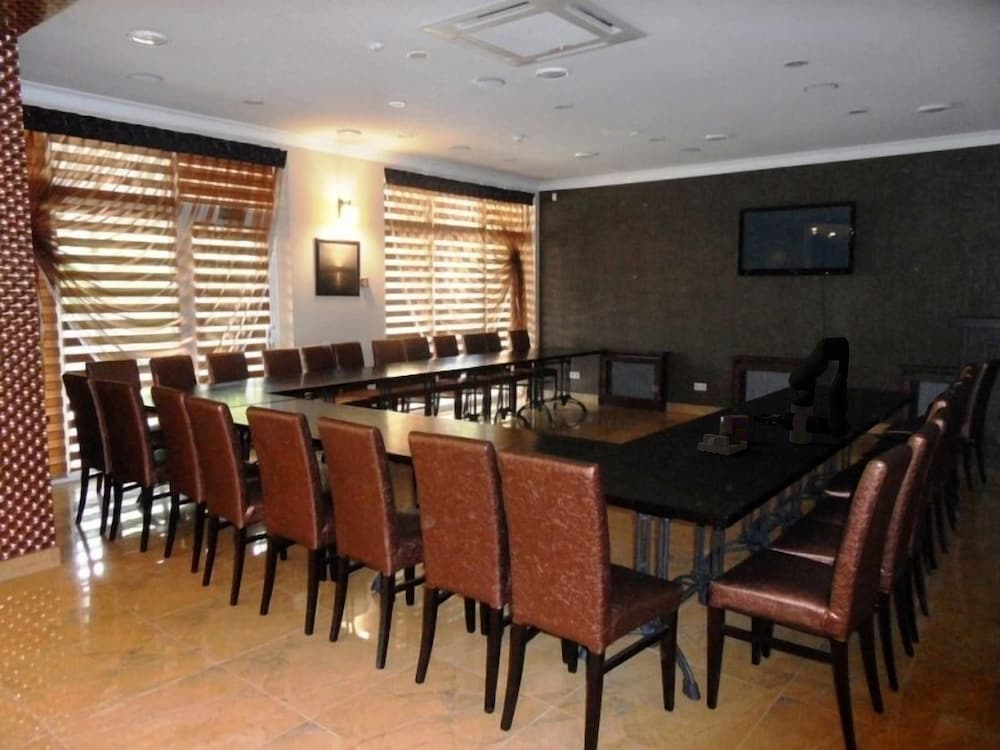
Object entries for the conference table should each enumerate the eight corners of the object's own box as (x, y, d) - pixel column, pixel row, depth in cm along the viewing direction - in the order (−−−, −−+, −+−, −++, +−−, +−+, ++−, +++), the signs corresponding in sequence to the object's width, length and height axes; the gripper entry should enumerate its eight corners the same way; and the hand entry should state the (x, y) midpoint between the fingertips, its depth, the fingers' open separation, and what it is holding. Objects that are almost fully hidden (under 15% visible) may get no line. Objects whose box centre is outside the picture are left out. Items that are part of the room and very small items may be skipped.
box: (729, 443, 324) (730, 417, 322) (720, 441, 329) (722, 415, 328) (747, 442, 328) (749, 416, 326) (739, 439, 333) (740, 414, 331)
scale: (716, 443, 323) (716, 428, 322) (746, 448, 314) (747, 432, 313) (697, 450, 309) (698, 434, 308) (729, 455, 300) (729, 439, 299)
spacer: (722, 437, 316) (723, 415, 315) (733, 439, 313) (734, 416, 312) (717, 439, 312) (718, 416, 311) (728, 441, 309) (729, 418, 308)
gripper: (803, 411, 299) (764, 406, 309) (791, 416, 288) (751, 410, 299) (802, 428, 300) (763, 423, 310) (790, 434, 289) (750, 428, 300)
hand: (757, 417), depth 304 cm, fingers open, 8 cm apart
